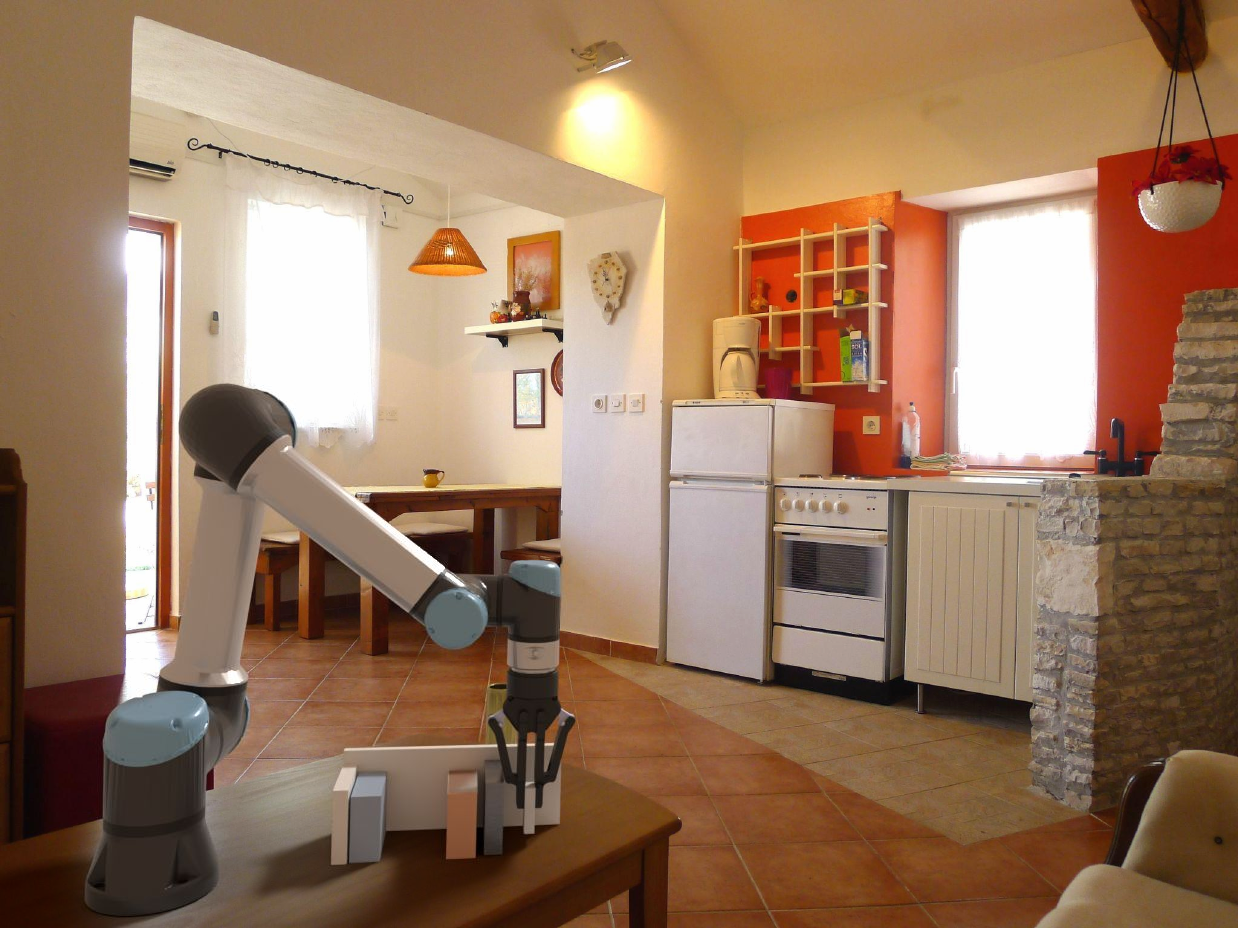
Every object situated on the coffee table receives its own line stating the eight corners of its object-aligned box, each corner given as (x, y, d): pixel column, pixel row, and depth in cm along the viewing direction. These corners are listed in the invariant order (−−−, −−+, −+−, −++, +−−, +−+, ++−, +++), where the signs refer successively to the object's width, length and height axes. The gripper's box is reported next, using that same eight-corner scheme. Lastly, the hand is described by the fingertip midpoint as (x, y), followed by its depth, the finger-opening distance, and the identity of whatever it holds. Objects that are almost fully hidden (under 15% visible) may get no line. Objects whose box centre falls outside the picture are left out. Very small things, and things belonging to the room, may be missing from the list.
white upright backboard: (331, 864, 125) (333, 775, 125) (342, 829, 137) (344, 748, 137) (567, 854, 130) (569, 768, 130) (558, 820, 142) (560, 742, 142)
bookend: (484, 854, 129) (485, 783, 129) (482, 826, 139) (484, 759, 139) (502, 854, 129) (503, 782, 129) (499, 825, 139) (501, 759, 139)
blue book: (349, 863, 126) (350, 796, 126) (357, 833, 136) (359, 772, 136) (379, 861, 127) (381, 795, 127) (385, 832, 136) (387, 771, 136)
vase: (478, 769, 165) (480, 689, 165) (488, 758, 171) (490, 681, 171) (511, 771, 164) (513, 691, 164) (521, 761, 170) (522, 683, 170)
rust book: (445, 859, 128) (447, 794, 128) (447, 830, 138) (448, 769, 138) (475, 857, 129) (477, 793, 128) (475, 829, 138) (476, 769, 138)
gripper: (488, 673, 130) (483, 842, 130) (580, 673, 132) (576, 838, 132) (487, 662, 137) (482, 821, 138) (574, 661, 140) (570, 818, 140)
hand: (528, 829), depth 135 cm, fingers closed
